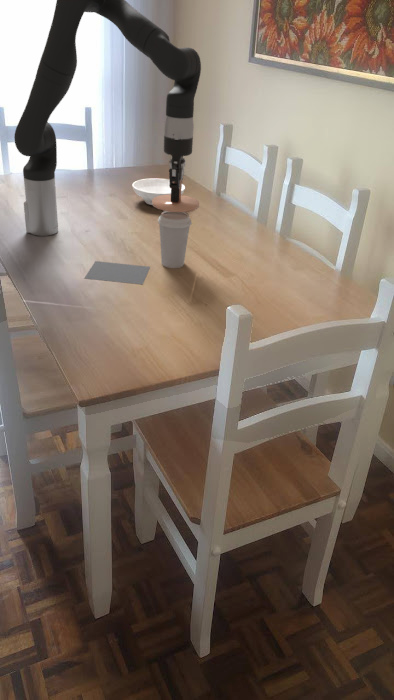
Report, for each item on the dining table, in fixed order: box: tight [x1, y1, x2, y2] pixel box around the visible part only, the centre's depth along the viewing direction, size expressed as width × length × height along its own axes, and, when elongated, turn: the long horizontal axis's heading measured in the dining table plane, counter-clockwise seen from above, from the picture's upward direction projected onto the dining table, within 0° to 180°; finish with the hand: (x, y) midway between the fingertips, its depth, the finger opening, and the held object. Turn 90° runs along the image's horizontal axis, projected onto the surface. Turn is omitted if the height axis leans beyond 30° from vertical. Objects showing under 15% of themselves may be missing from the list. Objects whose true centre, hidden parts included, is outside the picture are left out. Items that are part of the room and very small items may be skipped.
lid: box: [151, 180, 200, 213], centre depth 156 cm, size 13×13×7 cm
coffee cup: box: [157, 210, 193, 269], centre depth 164 cm, size 10×10×15 cm
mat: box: [84, 260, 151, 285], centre depth 160 cm, size 16×12×1 cm
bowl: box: [132, 177, 186, 206], centre depth 213 cm, size 20×20×7 cm
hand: (175, 199), depth 157 cm, fingers closed on lid, 2 cm apart
